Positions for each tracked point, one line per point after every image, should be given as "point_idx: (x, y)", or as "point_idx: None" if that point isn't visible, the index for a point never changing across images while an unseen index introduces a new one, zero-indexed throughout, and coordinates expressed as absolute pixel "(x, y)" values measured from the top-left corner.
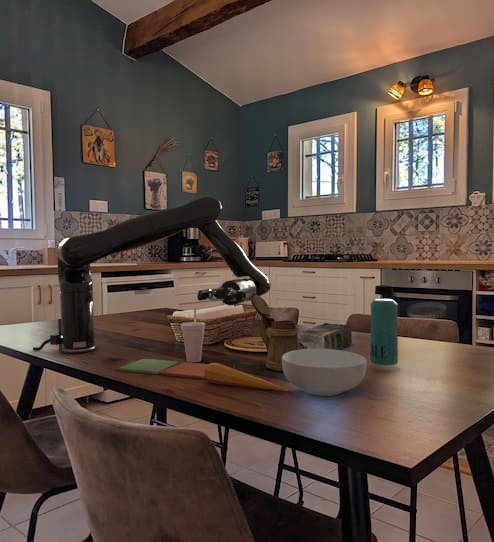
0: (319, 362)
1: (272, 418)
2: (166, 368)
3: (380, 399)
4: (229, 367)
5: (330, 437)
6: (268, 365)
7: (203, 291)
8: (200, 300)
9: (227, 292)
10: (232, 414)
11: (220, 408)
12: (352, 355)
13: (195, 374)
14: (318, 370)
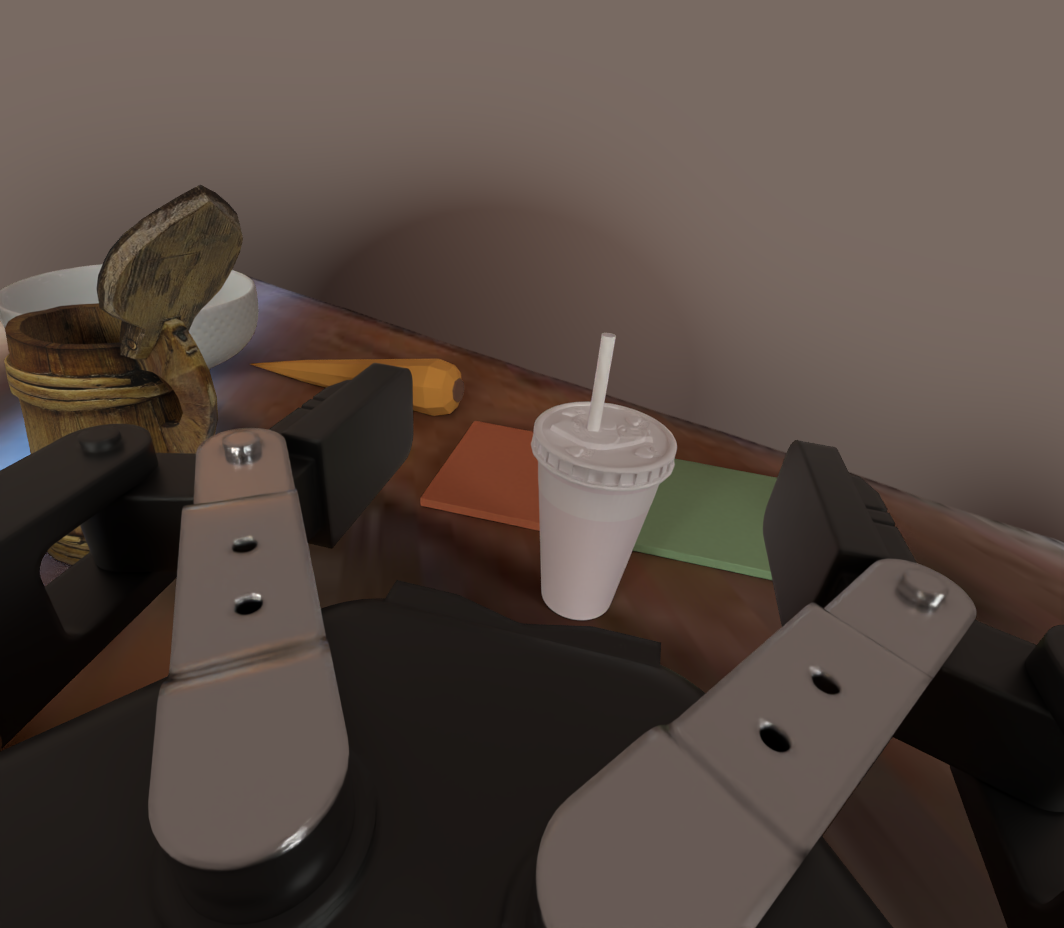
0: None
1: (325, 315)
2: None
3: None
4: (391, 364)
5: (260, 289)
6: None
7: (913, 565)
8: (766, 526)
9: (375, 601)
10: (389, 323)
11: (410, 335)
12: (5, 307)
13: (499, 431)
14: None
